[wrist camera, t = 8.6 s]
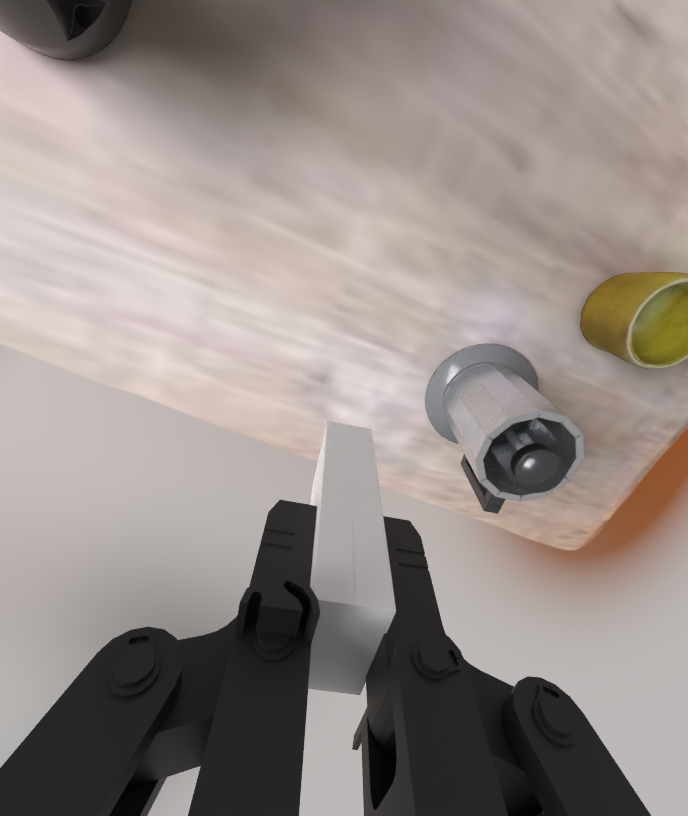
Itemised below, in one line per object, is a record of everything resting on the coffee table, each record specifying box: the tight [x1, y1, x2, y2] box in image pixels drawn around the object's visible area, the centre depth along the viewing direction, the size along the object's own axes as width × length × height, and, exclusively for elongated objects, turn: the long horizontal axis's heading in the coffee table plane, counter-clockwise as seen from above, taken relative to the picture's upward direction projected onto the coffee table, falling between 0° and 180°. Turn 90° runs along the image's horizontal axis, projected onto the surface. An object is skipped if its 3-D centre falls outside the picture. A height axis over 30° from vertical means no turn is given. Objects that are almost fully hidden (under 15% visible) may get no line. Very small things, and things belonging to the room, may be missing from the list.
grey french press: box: [443, 362, 584, 514], centre depth 42 cm, size 13×10×14 cm
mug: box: [580, 272, 688, 369], centre depth 41 cm, size 12×10×10 cm
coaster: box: [425, 344, 537, 444], centre depth 48 cm, size 14×14×1 cm
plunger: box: [499, 423, 566, 493], centre depth 39 cm, size 7×7×13 cm
